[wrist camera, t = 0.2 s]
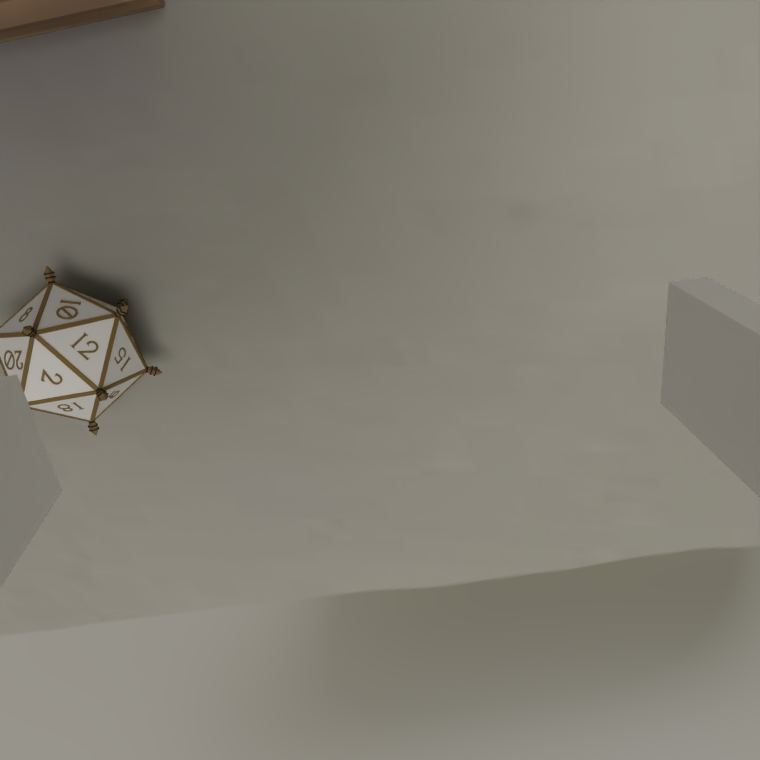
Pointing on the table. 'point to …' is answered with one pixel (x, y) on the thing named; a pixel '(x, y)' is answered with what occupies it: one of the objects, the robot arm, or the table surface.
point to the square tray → (62, 14)
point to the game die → (71, 352)
